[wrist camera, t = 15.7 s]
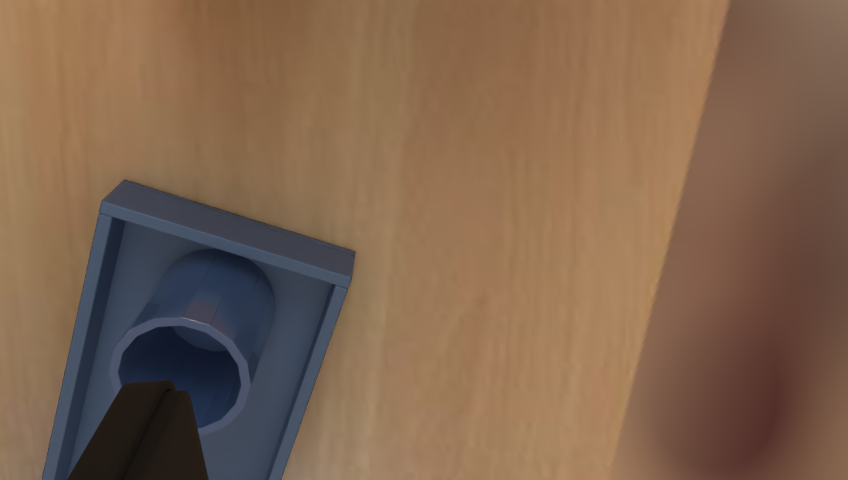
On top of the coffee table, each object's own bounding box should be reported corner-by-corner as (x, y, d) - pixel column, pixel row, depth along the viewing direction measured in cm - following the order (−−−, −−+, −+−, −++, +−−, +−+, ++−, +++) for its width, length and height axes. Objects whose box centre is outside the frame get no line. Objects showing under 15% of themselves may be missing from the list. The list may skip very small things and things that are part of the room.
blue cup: (173, 233, 37) (124, 300, 30) (289, 268, 38) (265, 341, 31) (148, 333, 39) (97, 416, 32) (258, 364, 40) (230, 451, 33)
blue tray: (124, 179, 36) (100, 200, 34) (355, 251, 38) (352, 277, 35) (44, 537, 44) (20, 578, 41) (239, 584, 46) (229, 627, 43)
